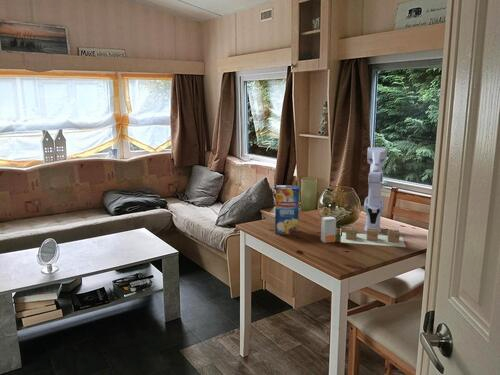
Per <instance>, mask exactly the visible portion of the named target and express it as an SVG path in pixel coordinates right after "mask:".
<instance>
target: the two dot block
mask: <svg viewBox="0 0 500 375" xmlns="http://www.w3.org/2000/svg"><path fill="white" fill-rule="evenodd" d="M345 230H346V231H345V233H346V239H352V240H356V236H357V234H358V233H357V231H358V227H356V226H346V227H345Z"/></svg>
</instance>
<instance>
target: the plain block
mask: <svg viewBox="0 0 500 375" xmlns="http://www.w3.org/2000/svg"><path fill="white" fill-rule="evenodd" d="M366 234H367V241H377V240H378V235H379V232H378V229H377V228H367V231H366Z"/></svg>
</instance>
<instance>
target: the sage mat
mask: <svg viewBox="0 0 500 375" xmlns="http://www.w3.org/2000/svg"><path fill="white" fill-rule="evenodd" d="M387 237H388V234H387V235H383V234H378V240H377V241H367V233H357V236H356V240H352V239H346V232H342V236H341V235H340V243H345V244H357V245H358V244H359V245H373V246H385V247H398V248H399V247H401V248H406V243H405V241H404V238H403V236H402V235H401V236H399V243H394V242H388V239H387Z"/></svg>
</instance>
